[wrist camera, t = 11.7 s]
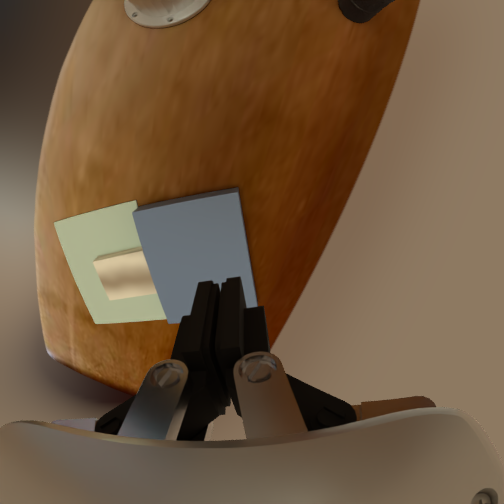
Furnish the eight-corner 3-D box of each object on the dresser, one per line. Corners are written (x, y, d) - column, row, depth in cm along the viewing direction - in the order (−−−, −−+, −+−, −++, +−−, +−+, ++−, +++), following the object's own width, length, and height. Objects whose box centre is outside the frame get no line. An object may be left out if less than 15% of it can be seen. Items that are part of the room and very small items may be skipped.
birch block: (98, 256, 39) (92, 261, 37) (146, 245, 39) (142, 250, 37) (114, 293, 42) (109, 300, 40) (161, 286, 41) (158, 293, 40)
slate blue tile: (139, 206, 36) (131, 212, 34) (238, 187, 36) (237, 192, 33) (172, 312, 44) (168, 323, 41) (257, 301, 43) (258, 313, 41)
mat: (54, 222, 37) (53, 222, 36) (136, 199, 36) (135, 200, 36) (96, 323, 45) (95, 323, 45) (173, 317, 44) (172, 318, 44)
